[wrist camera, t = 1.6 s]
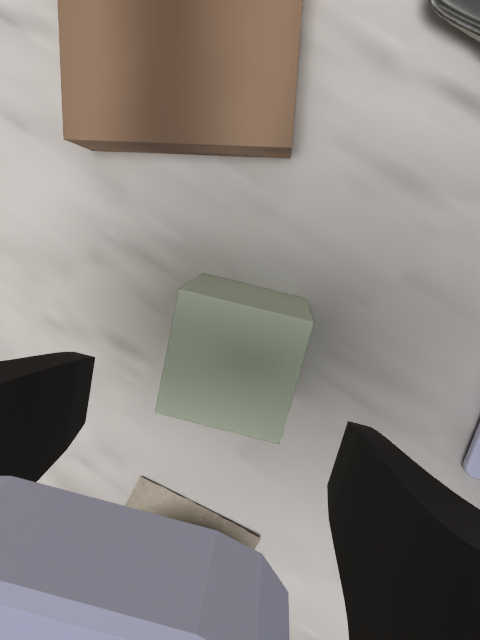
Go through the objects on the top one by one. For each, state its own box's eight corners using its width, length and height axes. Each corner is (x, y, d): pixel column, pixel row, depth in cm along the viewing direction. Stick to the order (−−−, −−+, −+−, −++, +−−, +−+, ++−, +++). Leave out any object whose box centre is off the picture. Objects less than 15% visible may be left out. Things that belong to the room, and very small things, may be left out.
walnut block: (307, -79, 17) (313, -144, 14) (289, 159, 19) (292, 147, 16) (89, -78, 17) (51, -139, 14) (95, 152, 19) (63, 139, 17)
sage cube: (305, 297, 20) (313, 322, 15) (279, 393, 21) (279, 444, 16) (203, 273, 20) (178, 289, 15) (183, 369, 21) (154, 412, 16)
